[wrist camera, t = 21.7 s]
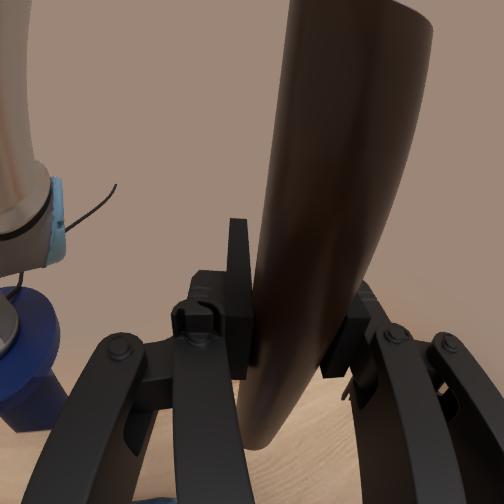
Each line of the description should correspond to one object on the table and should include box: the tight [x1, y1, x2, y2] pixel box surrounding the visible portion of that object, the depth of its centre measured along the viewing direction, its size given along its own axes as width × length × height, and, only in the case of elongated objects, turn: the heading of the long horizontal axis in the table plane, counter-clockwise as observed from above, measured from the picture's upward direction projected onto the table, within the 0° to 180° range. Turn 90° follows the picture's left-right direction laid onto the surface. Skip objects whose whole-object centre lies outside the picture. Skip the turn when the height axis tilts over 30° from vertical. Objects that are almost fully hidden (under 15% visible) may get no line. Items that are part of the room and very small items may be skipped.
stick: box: [236, 0, 433, 450], centre depth 9 cm, size 3×3×20 cm
